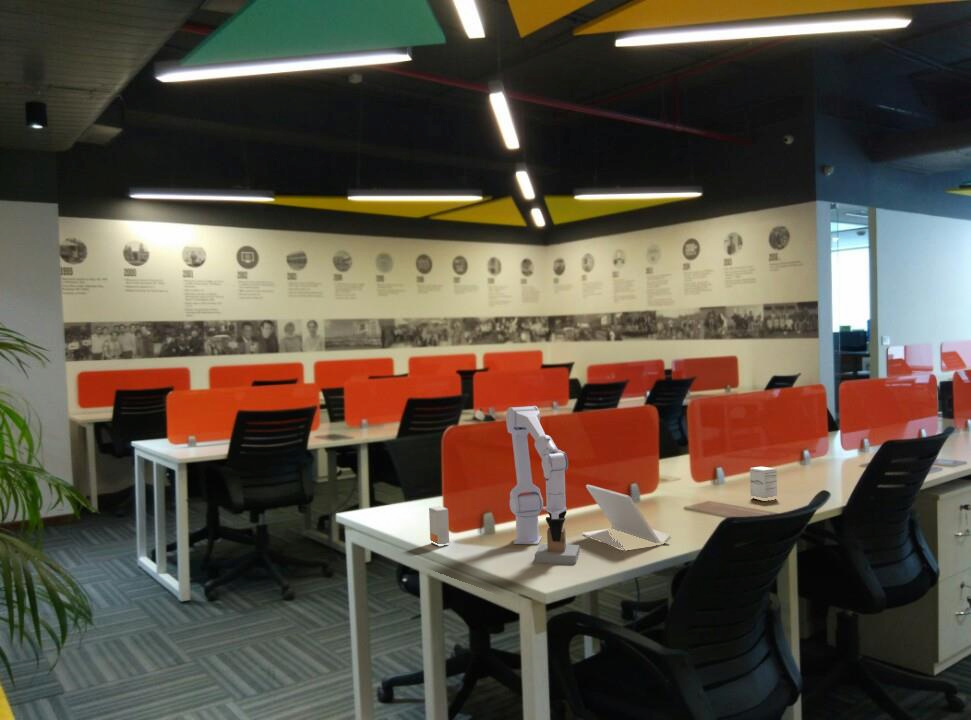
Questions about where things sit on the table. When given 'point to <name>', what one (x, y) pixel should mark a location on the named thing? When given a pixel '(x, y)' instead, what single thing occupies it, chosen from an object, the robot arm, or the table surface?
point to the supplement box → (763, 482)
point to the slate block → (557, 555)
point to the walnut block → (556, 545)
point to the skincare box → (439, 525)
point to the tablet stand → (622, 518)
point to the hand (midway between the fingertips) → (557, 538)
